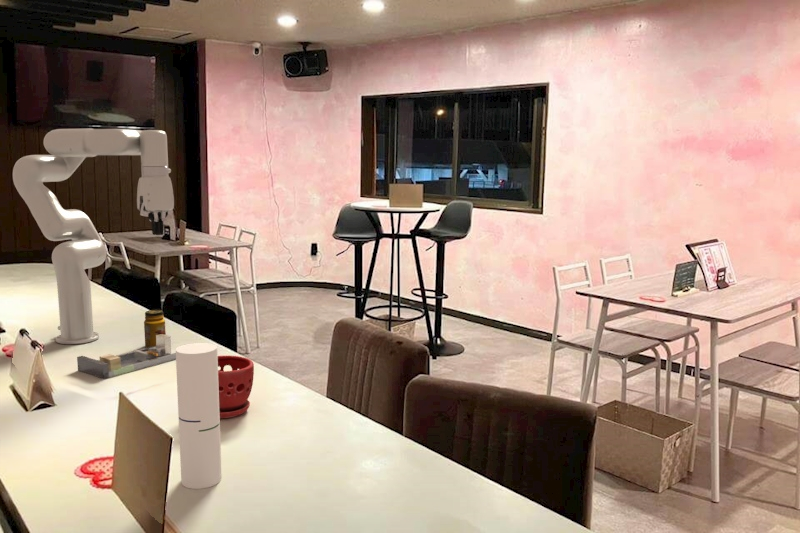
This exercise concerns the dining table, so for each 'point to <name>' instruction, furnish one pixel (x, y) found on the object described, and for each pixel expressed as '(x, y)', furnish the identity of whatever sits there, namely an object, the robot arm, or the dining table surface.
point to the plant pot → (234, 385)
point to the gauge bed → (127, 364)
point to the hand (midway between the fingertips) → (157, 234)
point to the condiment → (153, 326)
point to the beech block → (111, 361)
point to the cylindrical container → (198, 415)
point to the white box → (162, 347)
